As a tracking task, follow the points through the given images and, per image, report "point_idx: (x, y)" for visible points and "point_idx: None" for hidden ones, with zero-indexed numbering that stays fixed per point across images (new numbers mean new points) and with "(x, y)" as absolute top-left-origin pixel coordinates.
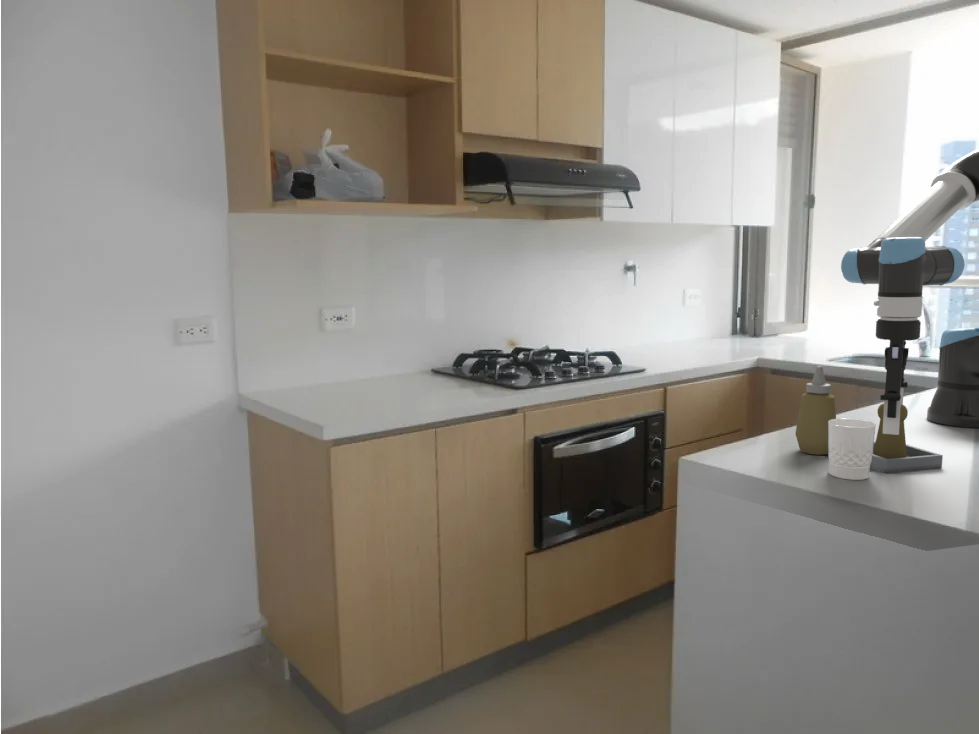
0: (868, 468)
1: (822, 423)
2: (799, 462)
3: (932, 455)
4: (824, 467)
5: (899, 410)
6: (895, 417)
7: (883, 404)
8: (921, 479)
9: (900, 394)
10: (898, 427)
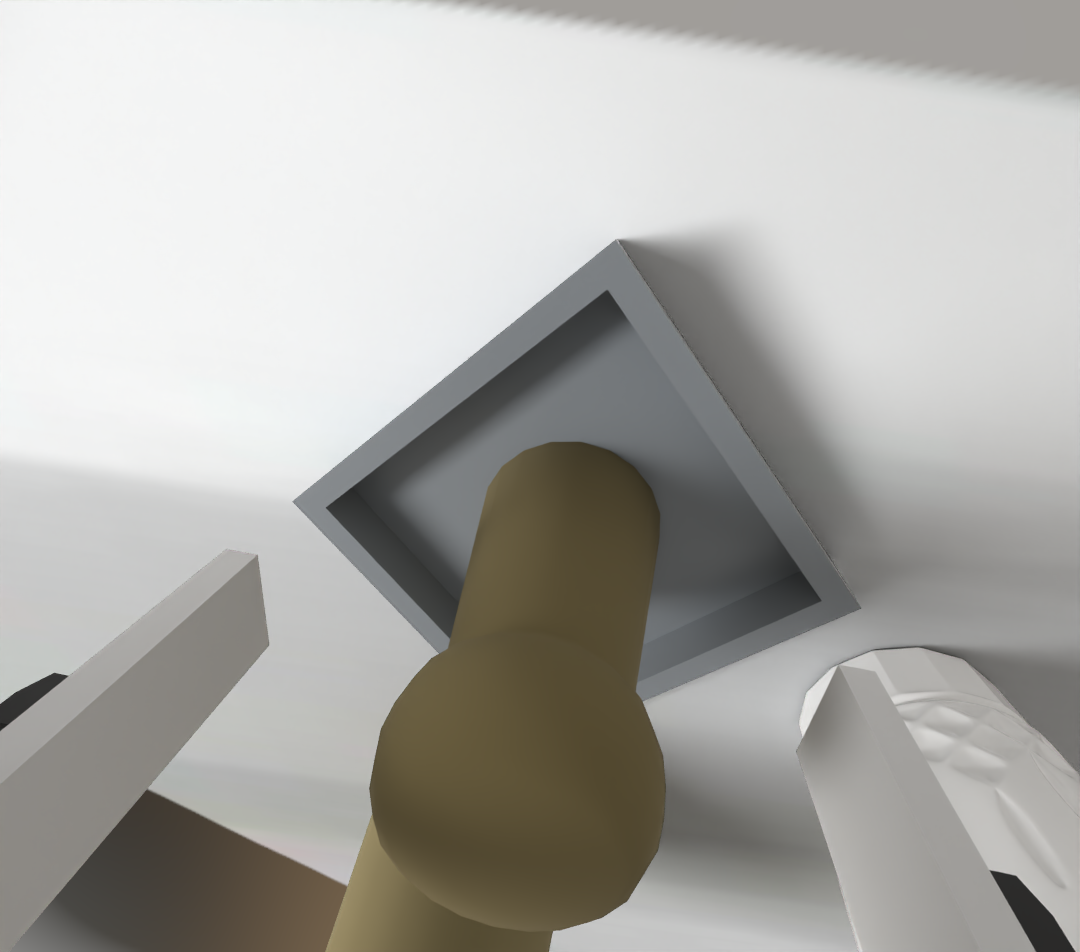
0: (999, 699)
1: (540, 942)
2: (697, 835)
3: (644, 318)
4: (762, 774)
5: (1025, 944)
6: (1024, 885)
7: (528, 929)
8: (943, 405)
9: (34, 788)
10: (905, 732)
